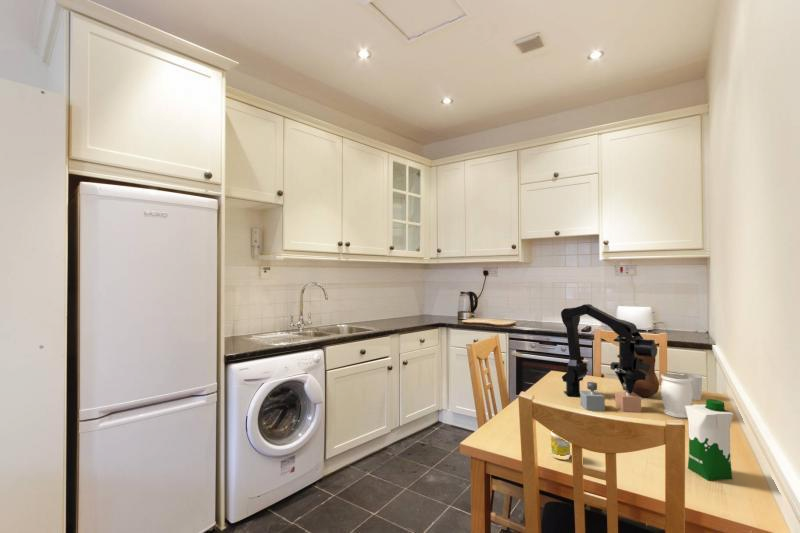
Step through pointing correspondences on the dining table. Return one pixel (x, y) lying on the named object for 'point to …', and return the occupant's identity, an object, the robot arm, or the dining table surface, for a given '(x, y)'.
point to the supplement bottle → (559, 446)
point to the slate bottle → (592, 401)
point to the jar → (676, 394)
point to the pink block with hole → (628, 402)
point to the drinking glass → (696, 386)
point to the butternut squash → (647, 379)
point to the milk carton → (709, 440)
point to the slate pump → (592, 386)
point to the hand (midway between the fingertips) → (627, 391)
